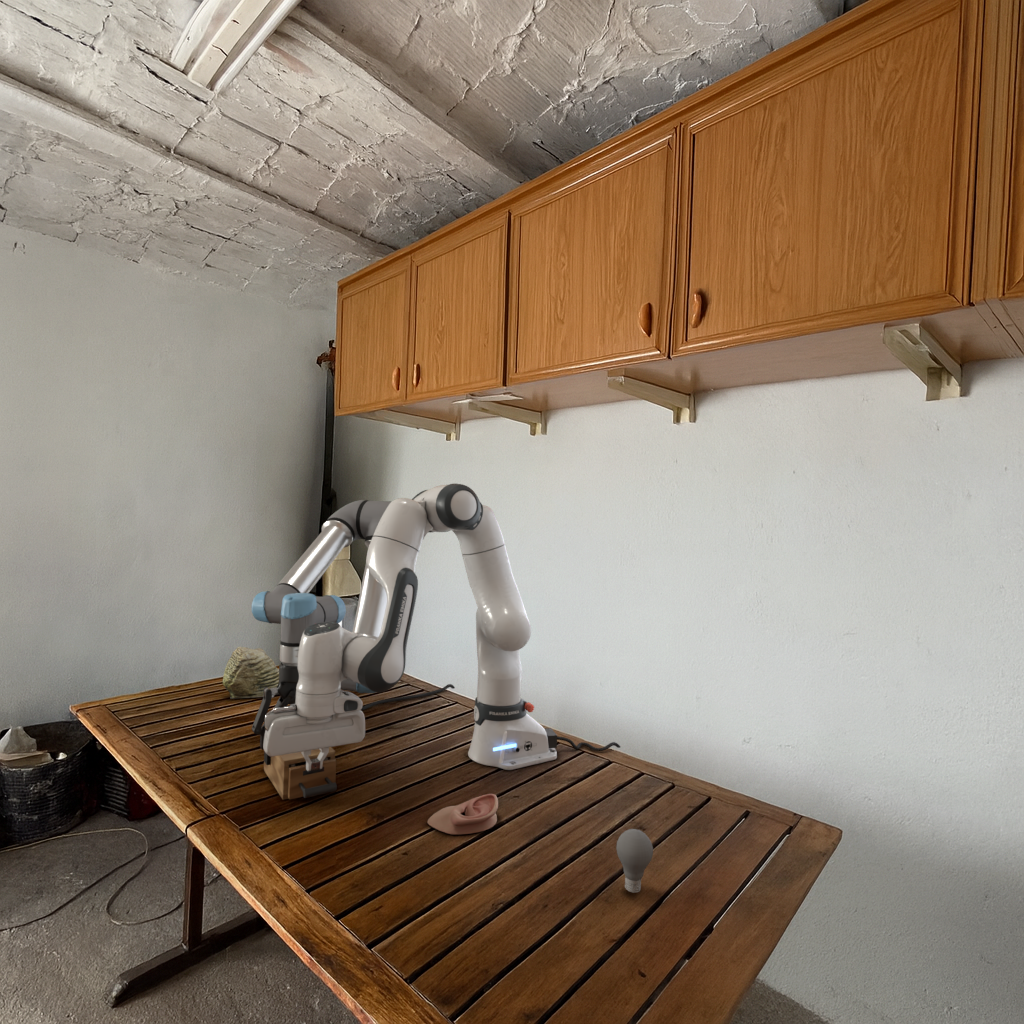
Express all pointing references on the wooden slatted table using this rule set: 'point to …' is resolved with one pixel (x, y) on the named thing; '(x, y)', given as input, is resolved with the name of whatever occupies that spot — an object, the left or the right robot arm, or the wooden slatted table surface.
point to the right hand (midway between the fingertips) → (314, 769)
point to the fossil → (249, 673)
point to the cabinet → (280, 768)
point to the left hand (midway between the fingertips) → (293, 757)
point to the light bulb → (634, 857)
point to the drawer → (311, 779)
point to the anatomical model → (467, 816)
